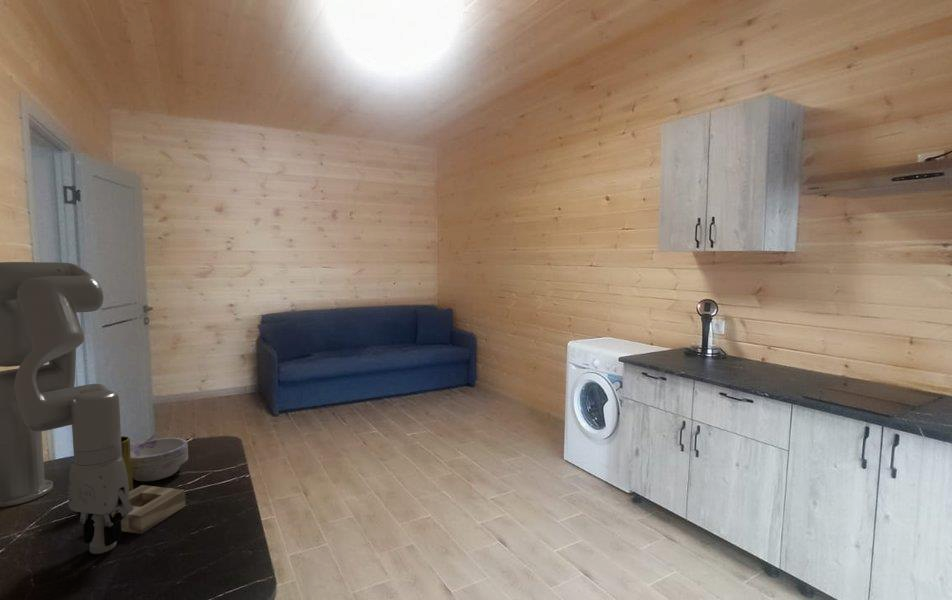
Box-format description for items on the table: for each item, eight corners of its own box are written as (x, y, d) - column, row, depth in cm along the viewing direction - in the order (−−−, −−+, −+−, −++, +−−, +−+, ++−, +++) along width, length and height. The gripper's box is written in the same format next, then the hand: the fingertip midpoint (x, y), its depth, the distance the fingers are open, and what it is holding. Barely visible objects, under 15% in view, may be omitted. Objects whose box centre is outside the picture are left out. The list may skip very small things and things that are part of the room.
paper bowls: (149, 462, 139) (148, 435, 138) (200, 463, 138) (199, 436, 138) (107, 486, 124) (105, 457, 123) (164, 488, 123) (162, 458, 123)
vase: (117, 503, 116) (115, 445, 114) (97, 500, 117) (94, 443, 116) (140, 491, 121) (137, 436, 120) (120, 488, 123) (117, 434, 122)
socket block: (95, 527, 105) (94, 509, 105) (142, 500, 117) (142, 485, 116) (141, 533, 103) (140, 516, 102) (185, 506, 114) (184, 489, 114)
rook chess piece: (84, 556, 95) (82, 518, 94) (95, 543, 99) (93, 506, 98) (110, 553, 96) (108, 515, 95) (121, 540, 100) (119, 504, 99)
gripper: (44, 457, 94) (49, 546, 95) (116, 465, 90) (120, 557, 92) (82, 443, 101) (87, 526, 102) (150, 449, 98) (154, 535, 99)
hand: (103, 539), depth 97 cm, fingers closed on rook chess piece, 4 cm apart
